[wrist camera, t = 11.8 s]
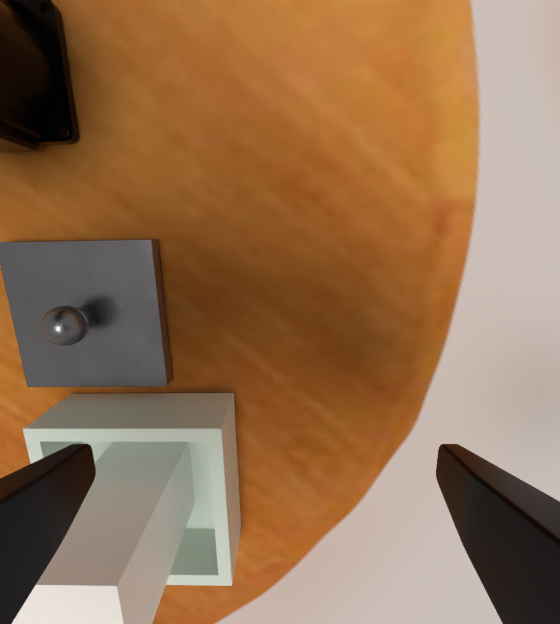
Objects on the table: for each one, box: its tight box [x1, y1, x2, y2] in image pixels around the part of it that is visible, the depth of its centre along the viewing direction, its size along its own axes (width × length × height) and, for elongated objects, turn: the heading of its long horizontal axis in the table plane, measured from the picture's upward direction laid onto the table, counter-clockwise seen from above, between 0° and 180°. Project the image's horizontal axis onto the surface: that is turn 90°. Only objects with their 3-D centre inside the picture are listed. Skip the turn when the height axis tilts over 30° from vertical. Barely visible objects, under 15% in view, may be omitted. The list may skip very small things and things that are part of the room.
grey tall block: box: [12, 442, 195, 624], centre depth 17 cm, size 5×5×9 cm
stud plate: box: [0, 240, 173, 387], centre depth 18 cm, size 9×9×4 cm
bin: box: [23, 393, 241, 586], centre depth 20 cm, size 11×11×4 cm
